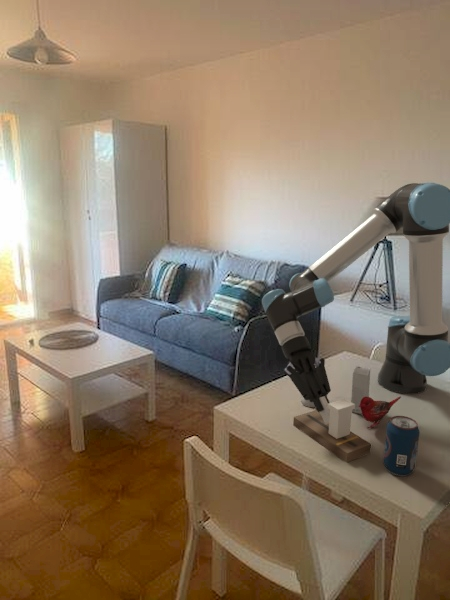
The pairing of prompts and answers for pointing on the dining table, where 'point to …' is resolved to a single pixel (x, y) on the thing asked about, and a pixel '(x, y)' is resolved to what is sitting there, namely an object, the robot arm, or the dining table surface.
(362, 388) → the skincare box
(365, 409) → the decorative bird figurine
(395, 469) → the soda can
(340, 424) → the fader knob
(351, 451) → the fader board
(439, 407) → the dining table surface
